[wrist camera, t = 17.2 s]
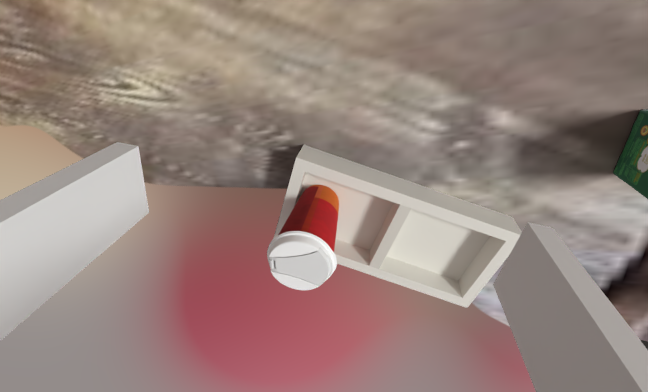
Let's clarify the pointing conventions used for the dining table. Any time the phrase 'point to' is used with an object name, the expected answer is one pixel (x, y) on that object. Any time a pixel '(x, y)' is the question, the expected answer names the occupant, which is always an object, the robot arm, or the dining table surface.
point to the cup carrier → (406, 228)
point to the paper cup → (307, 241)
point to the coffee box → (635, 156)
